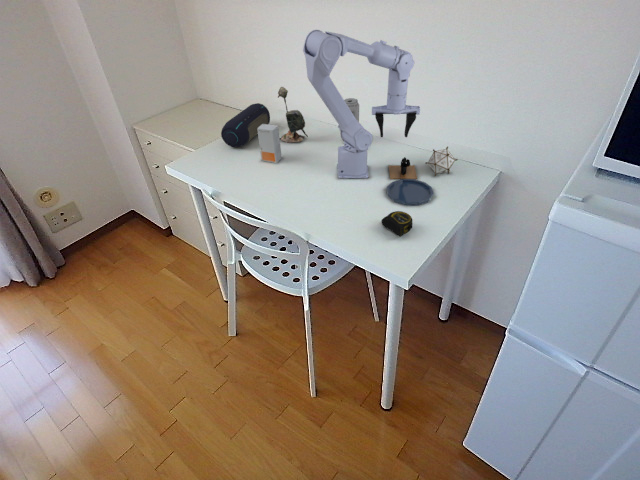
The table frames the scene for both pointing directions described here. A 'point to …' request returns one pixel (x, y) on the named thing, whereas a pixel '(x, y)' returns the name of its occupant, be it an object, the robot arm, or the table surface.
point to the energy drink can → (353, 107)
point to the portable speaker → (245, 125)
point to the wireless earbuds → (404, 165)
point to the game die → (441, 161)
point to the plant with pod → (292, 122)
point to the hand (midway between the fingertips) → (393, 135)
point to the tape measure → (398, 222)
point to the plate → (409, 192)
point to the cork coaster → (396, 173)
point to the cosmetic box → (269, 143)
